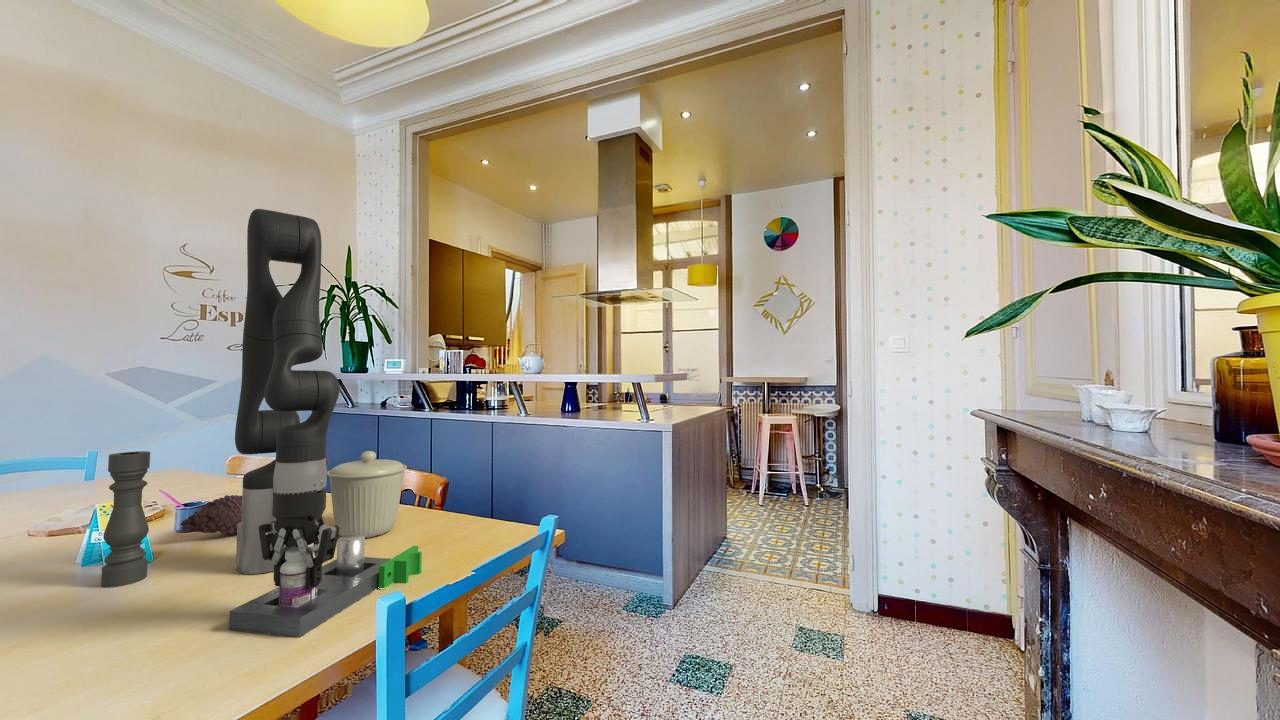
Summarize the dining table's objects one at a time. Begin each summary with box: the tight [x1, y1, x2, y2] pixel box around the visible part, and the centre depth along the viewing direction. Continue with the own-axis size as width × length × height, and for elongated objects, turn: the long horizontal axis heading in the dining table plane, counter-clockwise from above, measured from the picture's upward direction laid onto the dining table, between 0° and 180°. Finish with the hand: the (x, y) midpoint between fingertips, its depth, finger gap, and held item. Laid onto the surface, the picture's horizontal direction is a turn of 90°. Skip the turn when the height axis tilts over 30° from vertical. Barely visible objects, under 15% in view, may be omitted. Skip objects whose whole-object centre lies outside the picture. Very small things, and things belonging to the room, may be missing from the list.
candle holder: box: [100, 450, 151, 588], centre depth 95 cm, size 6×6×25 cm
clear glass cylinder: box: [336, 534, 366, 577], centre depth 93 cm, size 5×5×9 cm
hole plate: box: [228, 556, 391, 638], centre depth 87 cm, size 13×24×3 cm, turn 171°
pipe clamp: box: [378, 545, 423, 589], centre depth 97 cm, size 11×4×5 cm, turn 173°
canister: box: [327, 450, 407, 539], centre depth 124 cm, size 18×18×21 cm
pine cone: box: [180, 494, 242, 536], centre depth 121 cm, size 18×10×10 cm, turn 143°
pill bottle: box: [279, 544, 318, 608], centre depth 82 cm, size 5×5×10 cm
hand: (297, 585), depth 82 cm, fingers closed on pill bottle, 5 cm apart
